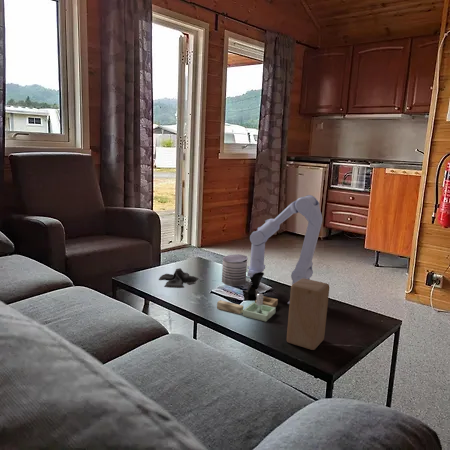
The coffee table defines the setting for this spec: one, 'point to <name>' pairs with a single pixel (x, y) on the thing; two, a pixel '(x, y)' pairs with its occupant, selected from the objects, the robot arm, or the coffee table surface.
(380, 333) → the coffee table surface
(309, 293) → the wooden block
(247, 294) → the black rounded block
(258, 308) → the pin
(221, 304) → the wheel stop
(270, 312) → the tray
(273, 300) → the pin socket
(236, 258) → the can
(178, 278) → the cloth
